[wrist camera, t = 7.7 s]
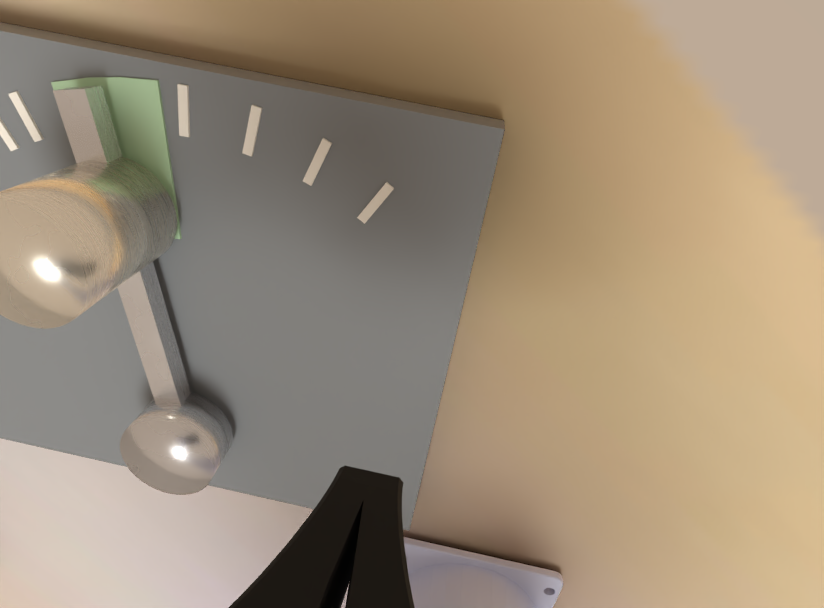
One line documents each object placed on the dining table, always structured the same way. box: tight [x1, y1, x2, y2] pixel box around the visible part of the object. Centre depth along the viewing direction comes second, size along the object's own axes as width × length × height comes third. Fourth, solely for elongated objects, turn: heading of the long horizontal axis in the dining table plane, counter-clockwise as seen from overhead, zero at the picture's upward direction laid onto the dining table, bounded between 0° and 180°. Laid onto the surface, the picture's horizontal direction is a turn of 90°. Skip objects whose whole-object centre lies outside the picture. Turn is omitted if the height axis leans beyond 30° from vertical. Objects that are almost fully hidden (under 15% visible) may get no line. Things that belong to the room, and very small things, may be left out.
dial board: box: [0, 22, 505, 530], centre depth 21 cm, size 17×19×2 cm
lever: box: [0, 86, 233, 495], centre depth 18 cm, size 15×4×5 cm, turn 3°
